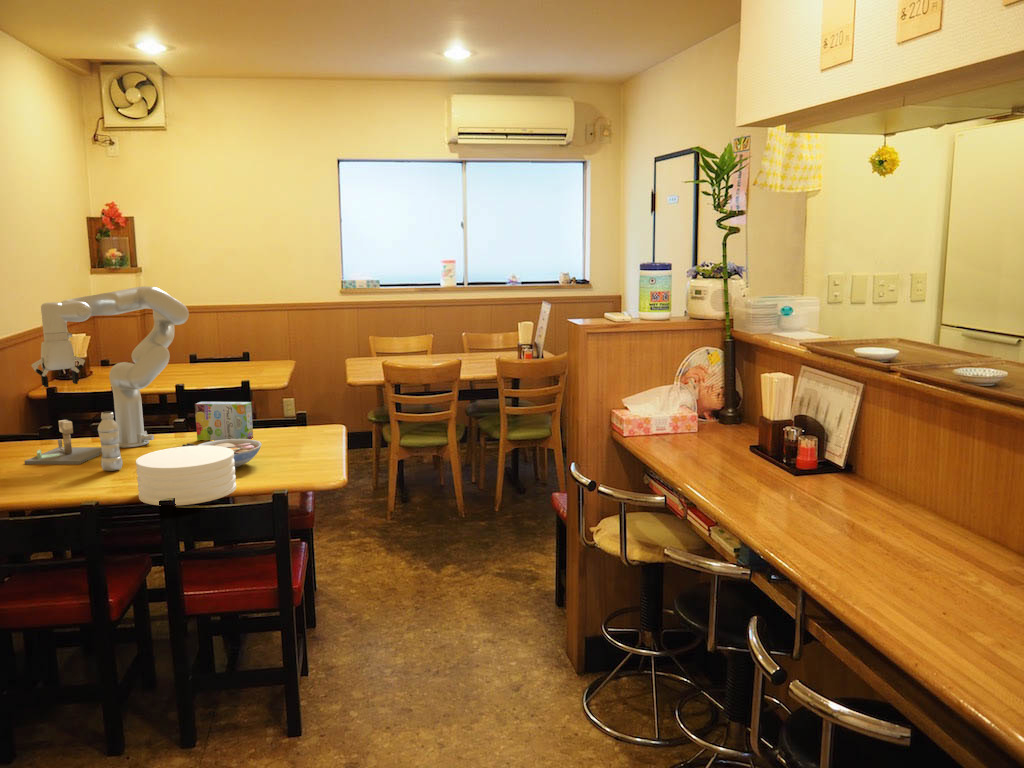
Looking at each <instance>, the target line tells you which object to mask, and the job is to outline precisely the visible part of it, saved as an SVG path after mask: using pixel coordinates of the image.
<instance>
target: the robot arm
mask: <svg viewBox="0 0 1024 768" xmlns="http://www.w3.org/2000/svg"><path fill="white" fill-rule="evenodd" d="M144 309H147V310H149V309H150V310H152V317H153V327H152V329H151V331H150V332H149V333H148V334H147V336H145V338H143V339H142V340H141V341H140V342H139V344H137V346H136V347H135V348H134V349H133V351H132V352H131V360H132V362H127V361H123V362H118V363H116V364H114V365H113V366H112V367H111V369H110V371H109V376H108V378H109V383H110V385H111V391H112V393H113V405H114V406H113V408H114V417H115V422H116V423H117V424H118V426H119V449H121V448H123V449H124V448H125V449H126V448H136V447H142V446H145V445H148V444H149V443H150V441H154V439H155V435H154V434H152V433H150V434H148V432H147V430H145V428H144V417H143V416H144V415H143V414H144V413H143V405H142V404H143V401H142V396H141V391H140V390H142V389H144V388H147V387H148V386H149V385H150V384H151V383H152V382H153V381H154V380H155V379H156V377H158V376H159V375H160V374H161V372H162V371H163V370H164V369H165V368H166V367H167V366H168V364H169V361H170V357H171V356H170V351H169V346H170V345H171V344H172V343H173V340H174V338H175V334H176V333H175V326H179V325H183V324H185V323H186V322H187V320H188V319H189V316H190V312H189V309H188V307H187V306H186V305H185V304H184V303H183V302H181V301H180V300H178V299H176V298H175V297H173V296H172V295H171V294H169V293H167V292H166V291H164V290H162V289H160V288H159V287H156V286H136V287H131V288H126V289H121V290H116V291H109V292H103V293H99V294H93V295H87V296H86V295H85V296H80V297H75V298H69V299H65V300H62V301H61V302H58V301H54V302H53V301H52V302H50V301H49V302H45V303H42V304H41V306H40V312H41V320H42V321H41V322H42V333H43V341H42V342H41V346H40V359H39V360H36V361H35V362H33V363H32V364H31V365H30V366H31V367H32V369H33V370H34V372H35V373H36V374H38V375H39V376H40V377H41V378H40V379H41V385H42V386H43V388H49V377H48V375H47V374H48V373H49V372H50V371H56V370H57V371H58V370H59V371H60V370H68V369H70V370H71V371H72V372H71V379H72V384H73V385H78V384H79V381H80V380H79V373H80V371H81V370H82V368H83V367H84V364H85V362H86V360H85V359H84V358H82V357H79V356H75V352H74V348H73V345H72V341H71V340H70V338H71V337H73V333H71V332H69V331H68V322H73V323H74V322H77V323H80V322H81V323H82V322H85V321H87V320H88V319H90V317H94V316H115V315H120V314H121V315H122V314H126V313H131V312H134V311H135V312H136V311H140V310H144ZM76 361H77V362H78V364H77V366H76ZM40 365H41V368H42V370H40V369H39V366H40Z"/></svg>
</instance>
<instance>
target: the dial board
mask: <svg viewBox="0 0 1024 768" xmlns="http://www.w3.org/2000/svg"><path fill="white" fill-rule="evenodd" d="M62 448H64V446H62ZM100 454H102V447H95V446H93V447H91V446H90V447H88V446H85V447H84V446H83V447H79V446H78V447H77V446H76V447H74V446H72V453H71V454H65V452H64V451H62V450H59V446H58V447H55V448H52V449H51V450H48V451H45V452H43V453H42V449H38V450H37V451H36V456H33V457H31V458H28V459H25V460H24V461H23V462H24V465H81V463H82V464H84V463H86V462H88V461H87V460H89V461H90V459H91V460H92V458H93V459H95V458H97V457H99V455H100ZM96 456H97V457H96ZM100 456H101V455H100ZM94 457H95V458H94ZM85 461H86V462H85ZM83 462H84V463H83Z"/></svg>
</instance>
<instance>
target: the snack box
mask: <svg viewBox="0 0 1024 768" xmlns="http://www.w3.org/2000/svg"><path fill="white" fill-rule="evenodd" d="M252 409H253V408H252V401H199V402H197V403H194V413H195V426H196V427H195V428H196V429H195V430H196V440H214V441H216V440H225V439H252V438H253V439H254V428H253V410H252Z"/></svg>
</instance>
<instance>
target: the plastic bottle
mask: <svg viewBox="0 0 1024 768" xmlns="http://www.w3.org/2000/svg"><path fill="white" fill-rule="evenodd" d="M100 414H101V415H100V419H101V421H100V422H99V424H98V426H97V432H98V437H99V439H100V440H99V441H100V445H101V447H102V455H101V459H100V464H101V465H100V466H101V469H102V470H103V471H105V472H114V471H118V470H121V469H122V467H123V462H124V461H123V459H122V456H121V450H120V449H121V448H120V447H119V426H118V424H117V423H116V420H114V417H115V415H114V412H113V411H104V412H101V413H100Z"/></svg>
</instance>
